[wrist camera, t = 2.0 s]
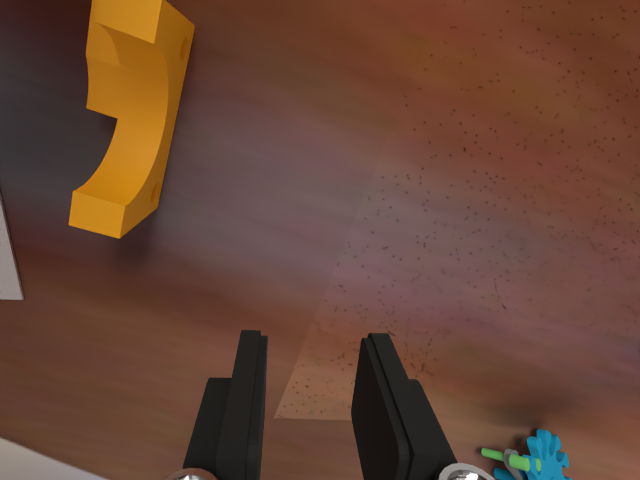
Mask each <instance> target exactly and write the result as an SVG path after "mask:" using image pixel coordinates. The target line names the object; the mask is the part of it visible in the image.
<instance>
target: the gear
mask: <svg viewBox="0 0 640 480" xmlns="http://www.w3.org/2000/svg"><path fill="white" fill-rule="evenodd" d="M527 445H528V448H529V450H530V454H531V456H528V455H522V457H521V456H519V454H518V452H517V451H516V450H512V449H508V448H507V449H506V450H505V452H504V453H503V452H499V451H495V450H491V449H487V448H482V455H483V456H485V457H489V458H493V459H496V460H500V461H504V463H505V466H506V467H507V469H508V470H509V471H507V470H504V469H500V468H497V467H496V468H495V469H494V476H495V478H496V479H499V480H572V479H571V478H568V477H565V476H563V474H562V467H565V468H568V466H569V464H568V457H567V454H566V453H563V452H558V451H557V450H560V448H561V442H560V440H559V438H558V436H557V435H552V434H551V433H550V432H549V431H546V430H541V429H537V437H533V436H530V437H529V438H528V439H527Z"/></svg>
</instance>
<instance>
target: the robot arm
mask: <svg viewBox="0 0 640 480" xmlns="http://www.w3.org/2000/svg"><path fill="white" fill-rule="evenodd" d="M267 343H268V336H261V331H257V330H242V331H241V335H240V340H239V345H238V350H237V355H236V360H235V365H234V370H233V375H232V378H209V379H208V382H207V385H206V388H205V392H204V395H203V399H202V402H201V406H200V409H199V412H198V416H197V419H196V423H195V426H194V430H193V433H192V437H191V440H190V444H189V447H188V451H187V454H186V458H185V461H184V465H183V468H182V470H178V471H176V472H174V473H172V474H170V475H168V476H166V477H165V478H163V479H162V480H260V469H261V456H262V442H263V429H264V415H265V392H266V368H267ZM351 416H352V423H353V428H354V433H355V438H356V443H357V448H358V453H359V458H360V463H361V468H362V473H363V477H364V480H495V479H494V478H493V477H492V476H490V475H489V474H487V473H486V472H485V471H483V470H482V469H479V468H477V467H475V466H473V465H469V464H464V463H458V462H457V460H456V458H455V456H454V454H453V452H452V450H451V448H450V445H449V443H448V441H447V439H446V437H445V435H444V433H443V431H442V429H441V426H440V424H439V422H438V420H437V418H436V416H435V414H434V412H433V409H432V407H431V405H430V403H429V401H428V399H427V397H426V395H425V393H424V390H423V388H422V386H421V384H420V383H419V381H417V380H416V379H408V377H407V375H406V372H405V370H404V368H403V366H402V363H401V361H400V359H399V356H398V354H397V352H396V350H395V347H394V345H393V343H392V340H391V338H390V336H389V334H387V333H369V334H368V337H367V338H362V340H361V346H360V353H359V360H358V366H357V373H356V380H355V387H354V394H353V400H352V408H351Z"/></svg>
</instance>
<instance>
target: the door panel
mask: <svg viewBox="0 0 640 480" xmlns="http://www.w3.org/2000/svg"><path fill="white" fill-rule="evenodd" d="M0 299H9V300H23V299H25V298H24V294H23V289H22V285H21V281H20V276H19V272H18V267H17V263H16V258H15V254H14V250H13V245H12V241H11V236H10V232H9V227H8V223H7V219H6V214H5V210H4V205H3V201H2V196H1V192H0Z"/></svg>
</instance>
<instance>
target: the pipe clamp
mask: <svg viewBox="0 0 640 480" xmlns="http://www.w3.org/2000/svg"><path fill="white" fill-rule="evenodd" d="M194 30H195V25H194V24H192V23H191V22H190V21H189V20H188V19H187V18H185V17H184V16H183V15H182V14H181V13H180V12H178V11H177V10H176V9H175V8H174V7H172V6H171V5H170V4H169V3H168V2H167V1H165V0H92V6H91V14H90V22H89V30H88V38H87V46H86V58H87V65H88V77H89V87H88V99H87V106H86V108H87V109H90V110H93V111H96V112H99V113H102V114H105V115H108V116H111V117H114V118H117V119H118V120H117V124H116V128H115V132H114V135H113V138H112V141H111V144H110V146H109V149H108V151H107V153H106V155H105V157H104V159H103V161H102V163H101V164H100V166H99V168H98V169H97V170H96V172H95V173H94V174H93V176H92V177H91V178H90V179H89V180H88V181H87V182H86V183H85V184H84V185H82V186H81V187H80V188H78V189H76V190H74V191H73V195H72V203H71V210H70V218H69V225H70V226H74V227H77V228H81V229H85V230H89V231H92V232H96V233H100V234H104V235H107V236H111V237H115V238H119V239H120V238H121V237H122V236H123V235H125V234H126V233H127V232H128V231H130V230H131V229H132V228H133V227H134V226H136V225H137V224H138V223H139V222H141V221H142V220H143V219H144V218H145V217H147V216H148V215H149V214H150V213H152V212H153V211H154V210H155V209H157V208H158V203H159V198H160V193H161V189H162V184H163V179H164V174H165V169H166V165H167V160H168V155H169V150H170V145H171V141H172V136H173V131H174V126H175V121H176V116H177V112H178V107H179V102H180V97H181V92H182V88H183V83H184V78H185V73H186V68H187V64H188V59H189V54H190V49H191V44H192V39H193V35H194Z"/></svg>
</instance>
